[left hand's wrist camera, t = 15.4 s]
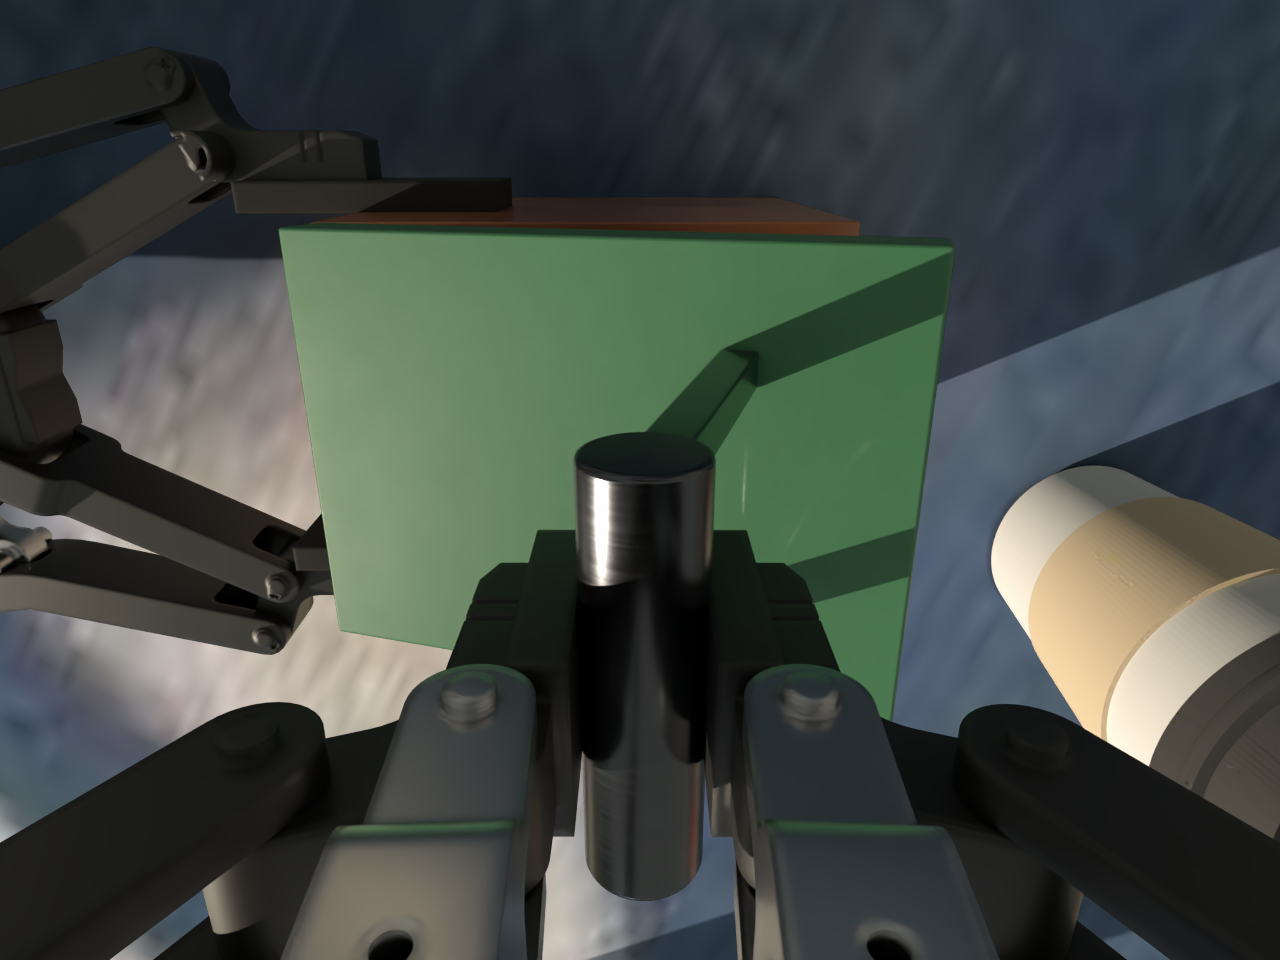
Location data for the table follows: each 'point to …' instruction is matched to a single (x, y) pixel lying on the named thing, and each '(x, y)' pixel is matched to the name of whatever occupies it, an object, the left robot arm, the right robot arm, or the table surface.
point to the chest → (634, 215)
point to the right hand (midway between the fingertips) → (515, 379)
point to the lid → (622, 458)
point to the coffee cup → (1155, 628)
